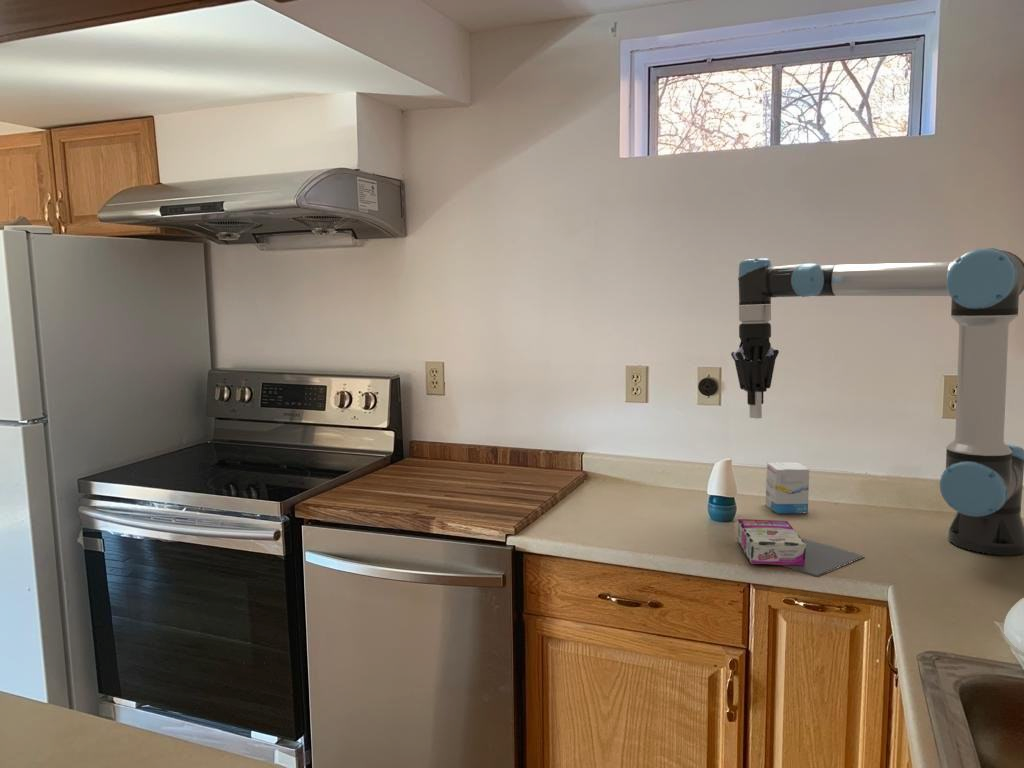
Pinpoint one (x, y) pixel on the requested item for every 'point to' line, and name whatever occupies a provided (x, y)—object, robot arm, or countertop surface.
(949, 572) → the countertop surface
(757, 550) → the candy bar box
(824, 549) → the mat
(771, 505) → the ink box
